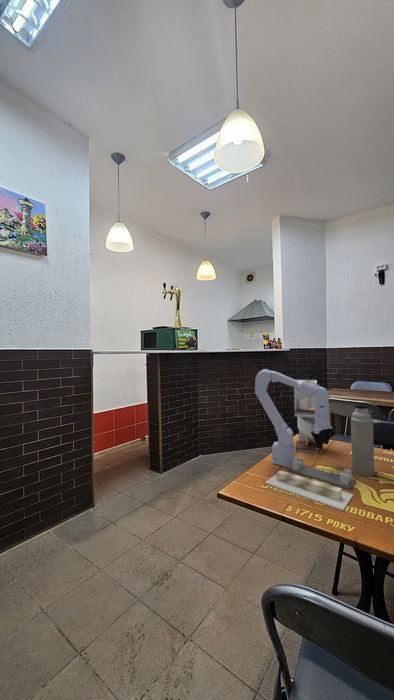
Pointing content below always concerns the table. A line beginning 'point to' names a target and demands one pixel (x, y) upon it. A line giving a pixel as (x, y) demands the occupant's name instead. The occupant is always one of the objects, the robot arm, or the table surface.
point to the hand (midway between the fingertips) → (322, 446)
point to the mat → (312, 494)
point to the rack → (322, 474)
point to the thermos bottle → (362, 441)
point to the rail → (309, 485)
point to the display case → (305, 421)
